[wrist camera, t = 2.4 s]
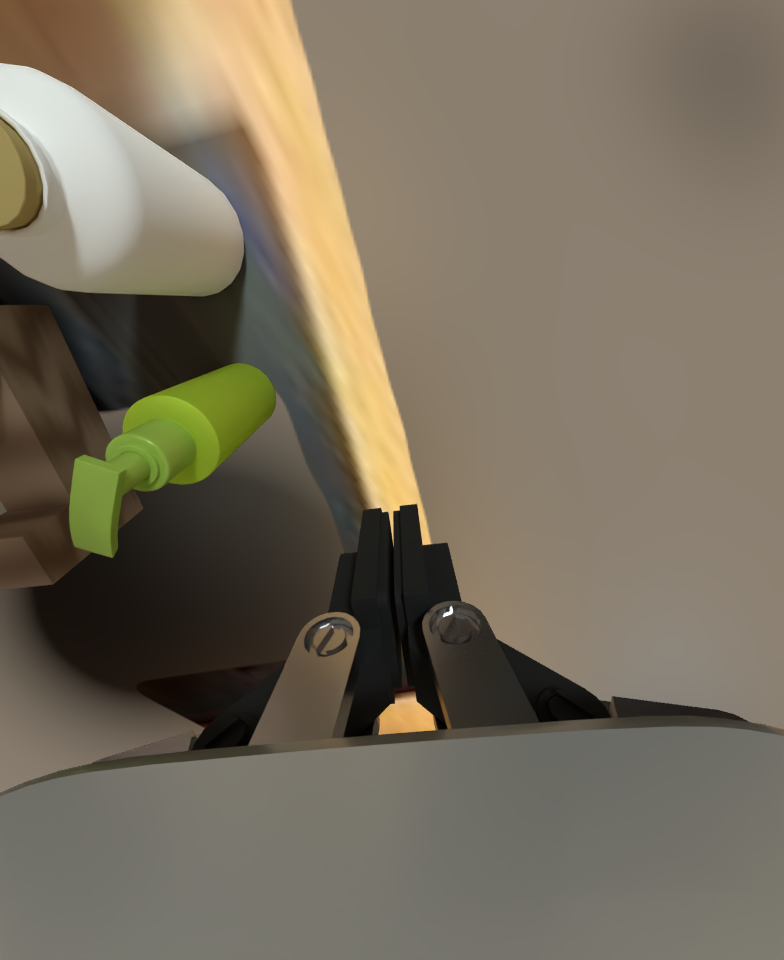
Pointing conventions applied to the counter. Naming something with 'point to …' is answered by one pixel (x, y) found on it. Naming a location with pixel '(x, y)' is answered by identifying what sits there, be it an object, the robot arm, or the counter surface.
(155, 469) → the soap dispenser
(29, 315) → the bottle rest
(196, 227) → the potion bottle
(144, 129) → the counter surface
